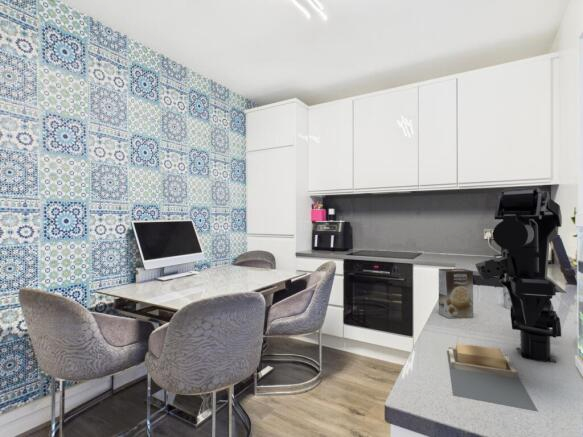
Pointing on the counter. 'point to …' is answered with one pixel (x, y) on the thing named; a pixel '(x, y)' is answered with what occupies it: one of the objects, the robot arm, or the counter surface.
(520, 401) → the mat
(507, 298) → the ink box
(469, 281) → the coffee box
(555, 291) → the robot arm
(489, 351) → the tile
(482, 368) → the frame
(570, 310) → the counter surface
